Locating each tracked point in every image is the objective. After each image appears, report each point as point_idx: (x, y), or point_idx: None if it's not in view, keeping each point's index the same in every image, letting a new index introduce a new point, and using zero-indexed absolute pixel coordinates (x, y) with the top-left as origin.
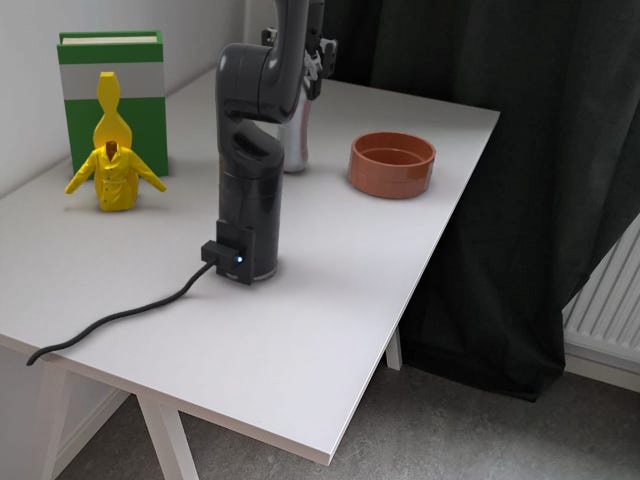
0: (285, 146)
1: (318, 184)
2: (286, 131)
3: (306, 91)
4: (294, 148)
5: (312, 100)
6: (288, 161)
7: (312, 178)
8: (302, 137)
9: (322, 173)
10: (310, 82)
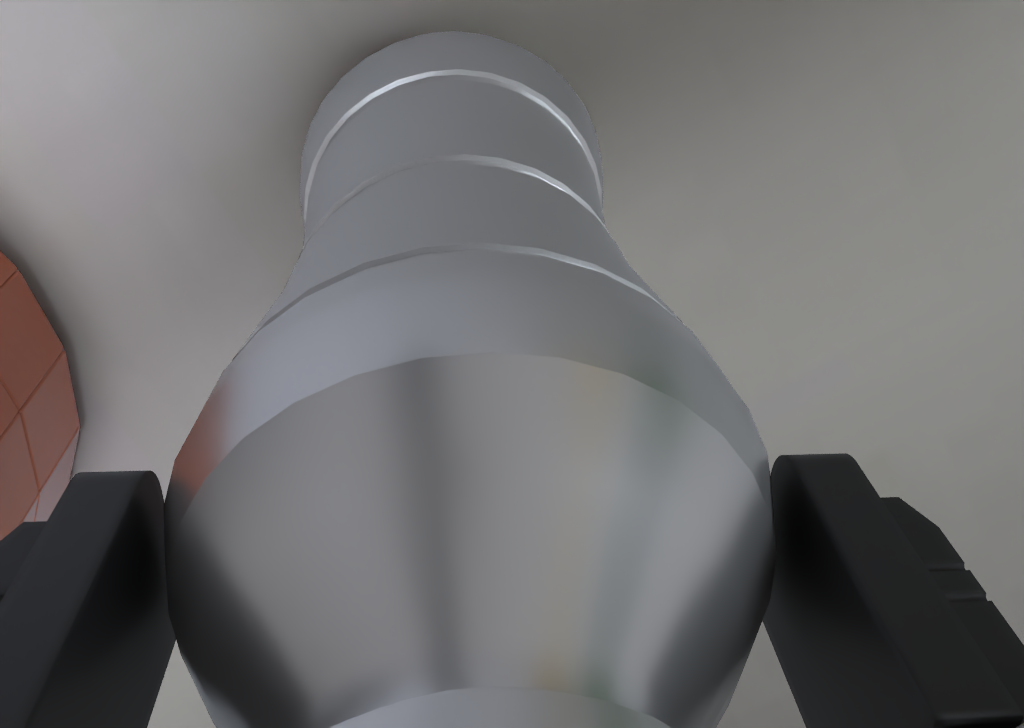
0: (443, 91)
1: (115, 33)
2: (450, 145)
3: (178, 559)
4: (357, 121)
5: (83, 479)
6: (395, 48)
7: (217, 102)
8: (306, 226)
9: (208, 219)
10: (22, 712)
